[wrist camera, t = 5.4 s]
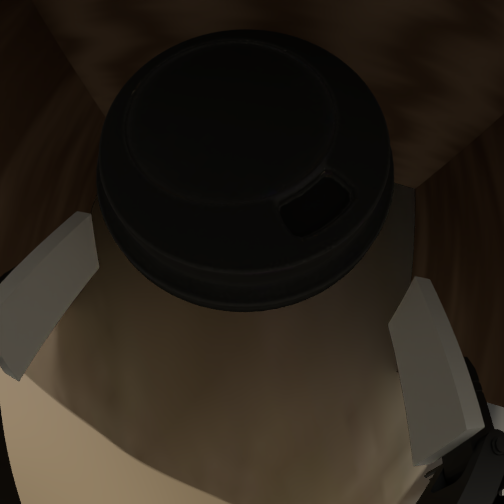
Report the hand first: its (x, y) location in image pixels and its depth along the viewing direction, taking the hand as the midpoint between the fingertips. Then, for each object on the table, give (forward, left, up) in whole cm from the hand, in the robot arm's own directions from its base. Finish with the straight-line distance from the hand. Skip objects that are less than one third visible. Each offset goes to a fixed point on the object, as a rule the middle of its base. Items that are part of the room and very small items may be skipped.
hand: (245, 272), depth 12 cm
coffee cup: (-1, +3, -10) cm, 11 cm away
